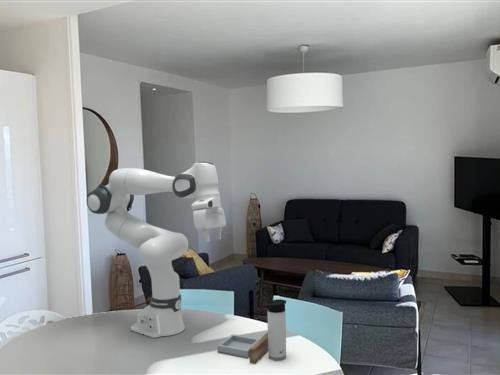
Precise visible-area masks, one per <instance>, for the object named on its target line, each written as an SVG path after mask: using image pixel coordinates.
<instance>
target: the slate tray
mask: <svg viewBox="0 0 500 375" xmlns="http://www.w3.org/2000/svg"><path fill="white" fill-rule="evenodd" d="M259 339H260V338H256V337H249V336H243V335H238V334H233V333H232V334H231V335H229V336H228V337H226V339H224V340H223V341H221V342H220V343H219V344H218V345H217V354H218V353H219V354H223V355H229V356H232V357H238V358H242V359H243V358H244V359H250V354H249V348H250V347H252V346H253V345H254V344H255V343H256V342H257V341H258V340H259Z"/></svg>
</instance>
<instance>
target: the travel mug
mask: <svg viewBox="0 0 500 375" xmlns="http://www.w3.org/2000/svg"><path fill="white" fill-rule="evenodd" d="M286 304H287V300H286V299H273V300H270V301H268V303H267V304H266V305H267V332H268V351H267V352H268V353H267V355H268V358H269V359H270V360H272V361H282V360H284V359H286V358H287V332H286V331H287V329H286V328H287V327H286V325H287V324H286V323H287V322H286V317H287V316H286Z"/></svg>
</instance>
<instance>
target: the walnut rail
mask: <svg viewBox="0 0 500 375" xmlns="http://www.w3.org/2000/svg"><path fill="white" fill-rule="evenodd" d="M258 339H259V340H258V341H257V342H256V343H255V344H254V345H253V346H252V347H250V348H249V354H250V357H249V363H250V364H253V365H255V364H257V363H258V362H259V361H260V359H262V358H263V357H264V356H265V355H266V353H267V352H268V331H267V332H266V333H265V334H263V335H262V337H260V338H258Z"/></svg>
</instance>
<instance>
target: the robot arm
mask: <svg viewBox="0 0 500 375" xmlns="http://www.w3.org/2000/svg"><path fill="white" fill-rule="evenodd" d="M165 192H166V193H167V192H172V193H174V195H175V196H176V197H178V198H181V199H196V200H195V201H194V202H193V203H191V210H192V211H193V213H192V216H193V225H194V227H195V229H196V231H201V234H202V236H203V241H204V242H205V243H209V242H211V236H210V234H209V230H210V229H214V230H215V235H214V237H215V240H216V241H217V240H218V241H219V240H221V239H222V231H223V228H225V227H226V226H227V225H226V224H227V222H226V215H225V211H224V209H223V207H222V203H221V202H222V201H221V194H220V193H221V192H220V191H219V177H218V172H217V168H216V166H215V164H214V163H213V162H210V161H197V162H194V163H193V165H192V166H191V167H190V168H189V169H187V170H186V171H184V172H182V173H179V174H176V176H173V175H172V176H170V175H167V174H162V173H158V172H155V171H152V170H147V169H143V168H139V167H138V168H136V167H125V168H124V167H123V168H118V169H114V170H113V171H112V172H111V173H110V175H109V177H108V184H107V185H104V184H101V185H99V186H98V187H96V188H95V189H93V190H92V191H90V192H89V193H88V194H87V197H86V205H87V206H86V207H87V208H88V210H89V211H90V212H91V213H93V214H95V215H103V214H106V216H105V220H104V226H105V228H106V229H107V230H108V231H109V232H110V233H111V234H112V235H114V236H115V237H116V238H118V239H120V240H121V241H122V242H124V243H126V244H128V245H130V246H131V247H133V248H134V249H138V252H137V256H138V258H139V260H140V261H139V262H141V263H142V264H143V265H144V266H145V267H146V268H147V271H148V272H149V276H150V279H151V292H152V294H151V296H150V297H147V298H146V299H147V300H146V301H147V302H149V303H148V305H146V306H145V307H144V308H143V309H142V310H140V311H139V312H138V314H137V316H136V322H135V323H133V324H132V325H131V326H130V331H133V332H134V333H138V334H141V335H143V334H144V336H147V337H150V338H153V339H154V338H160V337H168V336H173V335H177V334H179V333H182V332H183V331H184V330H186V326H185V324H184V322H185V321H184V319H183V314H182V295H181V292H180V291H181V289H180V287H181V286H180V285H181V284H180V276H179V274H178V272H176V271H174V267H173V264H172V261H174V260H176V259H179V258H180V257H182V256H183V255H184V254H185V253H186V252H187V251H188V249H189V241H188V238H187V237H186V236H185V235H184V234H183V233H181V232H175V231H170V230H168V229H164V228H162V227H159V226H156V225H155V226H154V225H152V224H150V223H148V222H146V221H144V220H141V219H140V218H138V217H136V216H134V215H133V214H131V213H130V212H129V211H131V210H132V208H133V203H134V200H135V196H145V195H151V194H152V195H153V194H158V193H159V194H160V193H165Z"/></svg>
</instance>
